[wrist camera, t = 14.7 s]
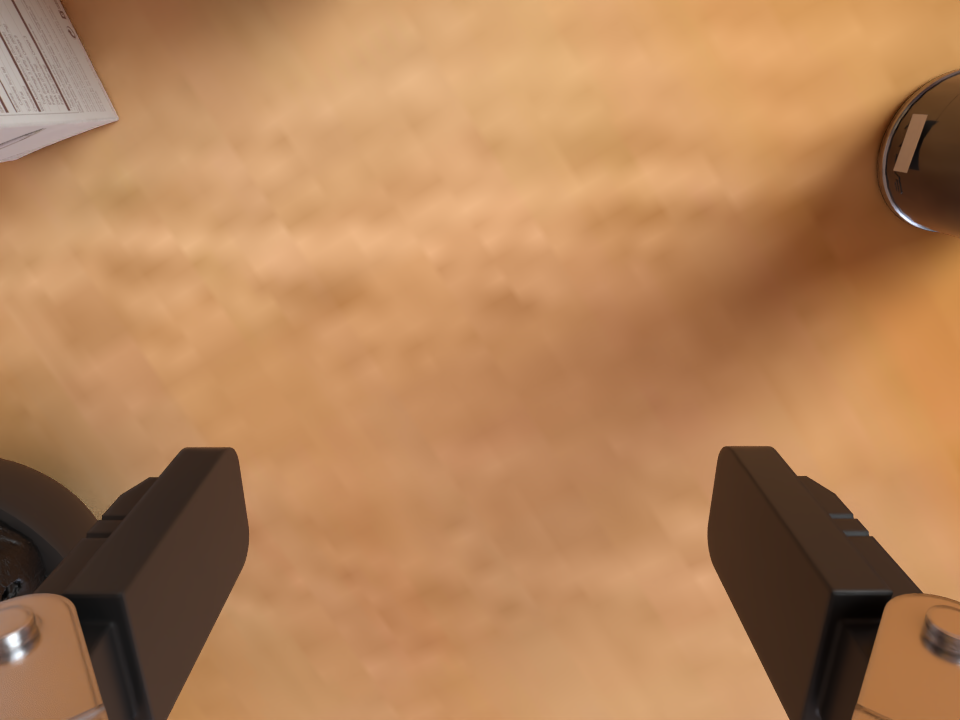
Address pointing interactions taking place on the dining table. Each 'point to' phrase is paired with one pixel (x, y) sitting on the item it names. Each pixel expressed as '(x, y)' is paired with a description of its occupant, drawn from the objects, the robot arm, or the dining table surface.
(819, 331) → the dining table surface
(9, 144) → the white packaging box
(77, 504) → the bowl of black rocks
